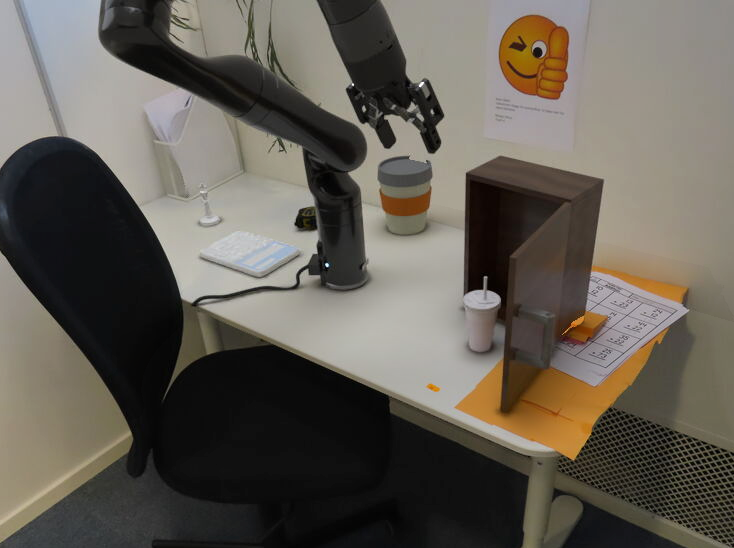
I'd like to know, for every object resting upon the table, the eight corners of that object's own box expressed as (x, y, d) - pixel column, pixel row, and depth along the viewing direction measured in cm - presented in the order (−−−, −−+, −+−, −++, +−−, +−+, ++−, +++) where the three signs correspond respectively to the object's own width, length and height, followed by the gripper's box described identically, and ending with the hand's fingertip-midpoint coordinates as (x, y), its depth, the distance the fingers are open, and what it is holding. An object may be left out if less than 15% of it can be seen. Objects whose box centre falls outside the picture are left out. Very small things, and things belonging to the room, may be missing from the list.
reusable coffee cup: (424, 240, 156) (423, 177, 148) (372, 235, 160) (368, 173, 151) (439, 217, 166) (439, 156, 157) (390, 213, 170) (387, 153, 161)
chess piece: (203, 217, 175) (195, 179, 169) (222, 217, 174) (214, 179, 169) (197, 225, 171) (188, 187, 165) (216, 225, 170) (208, 187, 165)
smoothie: (487, 360, 118) (490, 289, 109) (455, 349, 121) (455, 279, 113) (505, 342, 122) (509, 272, 113) (473, 332, 125) (475, 263, 117)
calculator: (240, 235, 165) (238, 227, 164) (302, 254, 155) (301, 246, 154) (198, 257, 157) (196, 249, 156) (260, 279, 146) (259, 271, 145)
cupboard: (554, 345, 120) (571, 199, 104) (463, 308, 132) (465, 172, 116) (584, 321, 125) (604, 179, 110) (493, 288, 137) (500, 155, 121)
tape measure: (300, 219, 170) (298, 205, 168) (327, 219, 169) (325, 204, 167) (295, 231, 165) (293, 217, 163) (323, 231, 164) (321, 216, 162)
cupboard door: (584, 356, 117) (606, 209, 101) (537, 424, 104) (554, 267, 88) (549, 346, 120) (565, 201, 104) (500, 411, 107) (509, 256, 91)
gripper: (312, 61, 90) (362, 160, 101) (389, 60, 81) (435, 169, 92) (346, 27, 93) (392, 128, 104) (425, 22, 83) (466, 134, 94)
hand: (412, 147), depth 98 cm, fingers open, 8 cm apart
